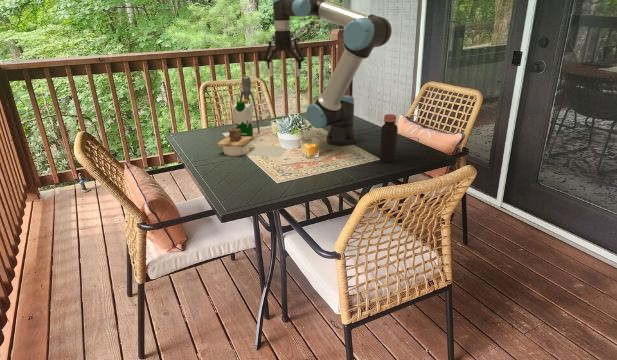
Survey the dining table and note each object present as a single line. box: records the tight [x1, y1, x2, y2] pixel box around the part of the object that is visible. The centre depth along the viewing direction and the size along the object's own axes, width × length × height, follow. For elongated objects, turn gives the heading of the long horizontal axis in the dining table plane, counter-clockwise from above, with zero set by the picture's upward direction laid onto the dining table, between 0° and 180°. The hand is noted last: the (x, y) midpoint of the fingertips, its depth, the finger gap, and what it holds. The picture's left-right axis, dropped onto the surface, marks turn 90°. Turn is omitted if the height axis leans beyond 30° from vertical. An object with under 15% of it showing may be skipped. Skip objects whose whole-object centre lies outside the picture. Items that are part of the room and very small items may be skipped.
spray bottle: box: [239, 75, 261, 135], centre depth 222 cm, size 10×11×30 cm
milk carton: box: [232, 100, 254, 137], centre depth 210 cm, size 9×9×20 cm
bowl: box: [222, 143, 251, 157], centre depth 195 cm, size 12×12×5 cm
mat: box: [248, 144, 288, 158], centre depth 196 cm, size 15×15×1 cm
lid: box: [216, 128, 255, 147], centre depth 193 cm, size 13×13×6 cm
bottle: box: [379, 113, 399, 163], centre depth 179 cm, size 7×7×20 cm
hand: (284, 76), depth 204 cm, fingers open, 13 cm apart
